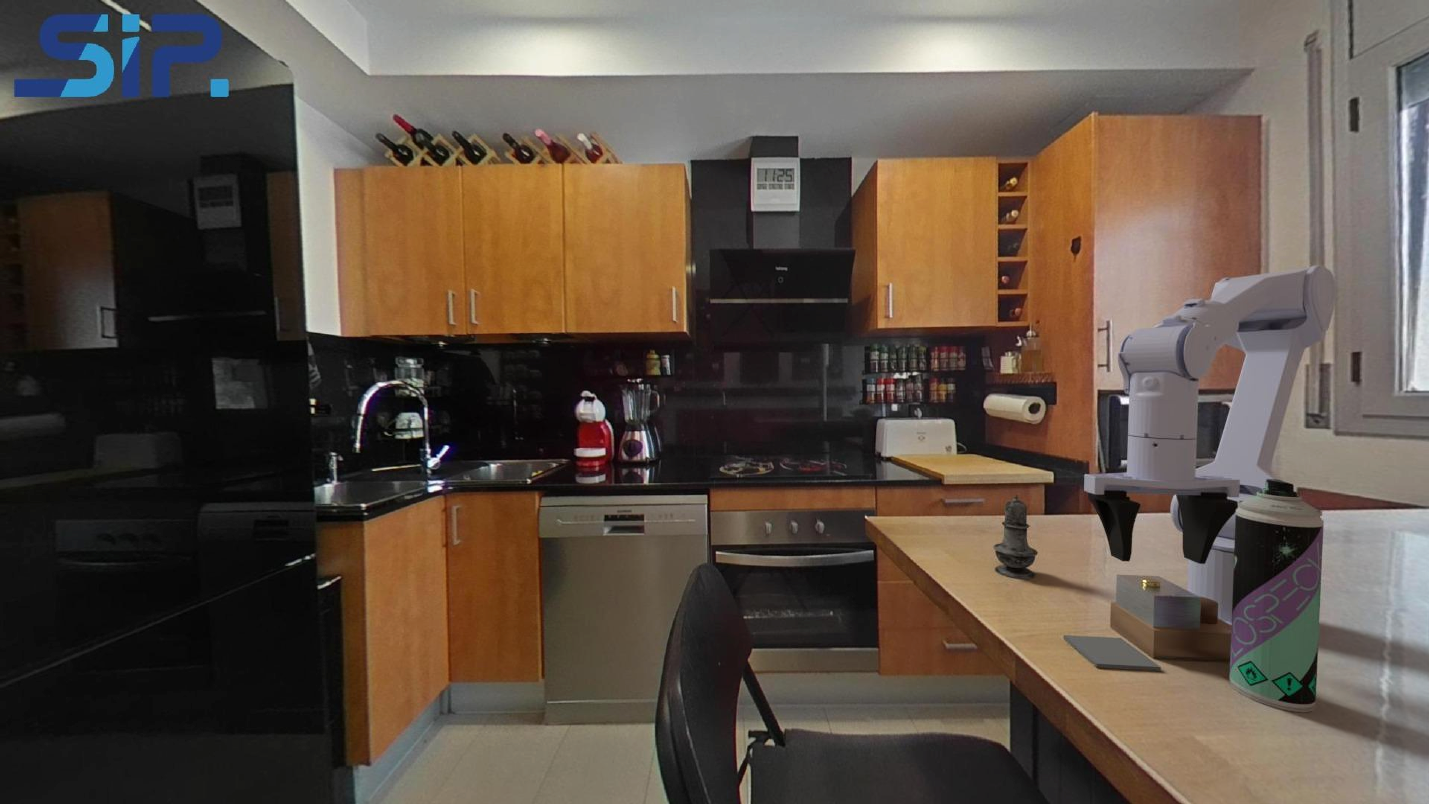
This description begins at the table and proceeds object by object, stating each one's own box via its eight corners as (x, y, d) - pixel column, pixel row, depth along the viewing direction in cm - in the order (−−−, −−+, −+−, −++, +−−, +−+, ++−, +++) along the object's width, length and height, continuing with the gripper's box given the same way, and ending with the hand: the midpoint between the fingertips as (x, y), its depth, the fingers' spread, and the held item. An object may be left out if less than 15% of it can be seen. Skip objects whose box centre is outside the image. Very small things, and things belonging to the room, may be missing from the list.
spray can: (1213, 678, 51) (1220, 475, 50) (1263, 675, 51) (1271, 474, 51) (1278, 714, 46) (1287, 487, 45) (1334, 710, 46) (1344, 485, 45)
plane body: (1193, 630, 61) (1194, 588, 60) (1247, 663, 54) (1249, 615, 54) (1110, 627, 62) (1111, 585, 61) (1153, 658, 55) (1154, 611, 55)
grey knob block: (1157, 605, 61) (1158, 571, 60) (1199, 630, 55) (1201, 592, 54) (1115, 604, 61) (1116, 570, 61) (1153, 628, 55) (1154, 590, 55)
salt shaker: (1044, 581, 76) (1045, 499, 75) (1000, 578, 77) (1001, 497, 77) (1028, 567, 82) (1029, 491, 81) (987, 564, 83) (988, 489, 82)
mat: (1120, 641, 58) (1120, 637, 58) (1160, 670, 52) (1160, 667, 52) (1063, 638, 59) (1063, 635, 59) (1096, 667, 53) (1096, 663, 53)
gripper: (1202, 433, 60) (1198, 549, 61) (1069, 432, 62) (1066, 546, 62) (1260, 440, 53) (1254, 571, 54) (1108, 439, 55) (1104, 566, 55)
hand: (1157, 559), depth 58 cm, fingers open, 7 cm apart
